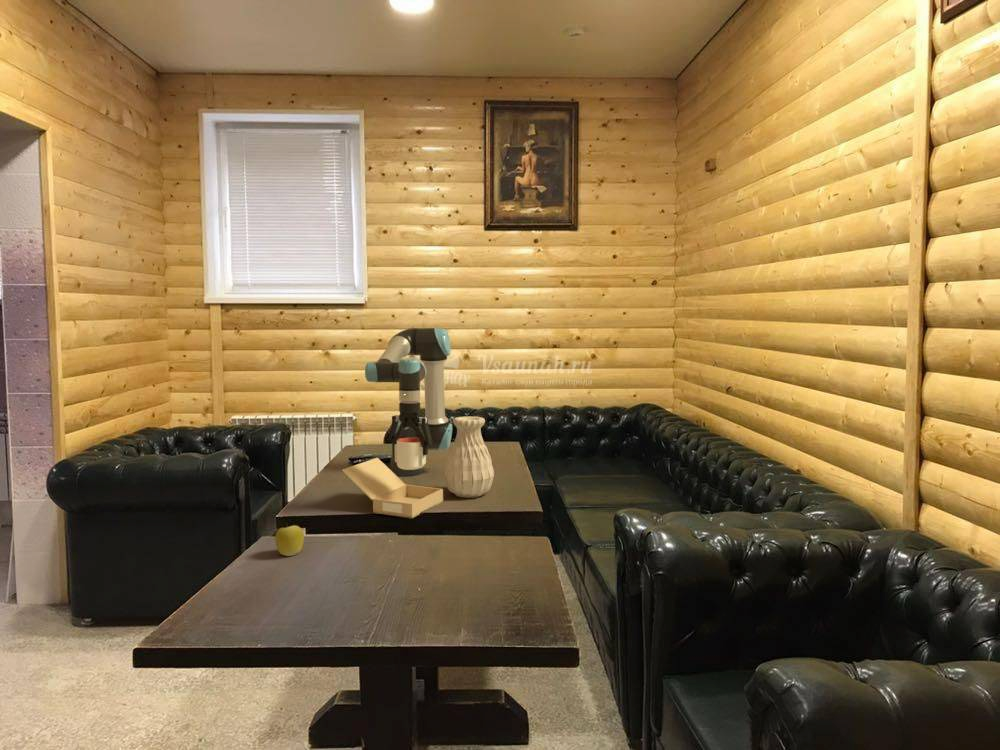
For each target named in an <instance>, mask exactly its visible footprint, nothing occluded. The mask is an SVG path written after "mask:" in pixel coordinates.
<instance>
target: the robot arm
mask: <svg viewBox="0 0 1000 750" xmlns="http://www.w3.org/2000/svg"><path fill="white" fill-rule="evenodd" d="M451 348H452V347H451V340H450V336H449V333H448V331H447V330H446V329H445V328H439V327H420V328H415V327H414V328H413V327H412V328H411V327H410V328H406V329H404V330H401V331H400V332H398V333H396V334H395V335H393V336H392V337H391V338H390V339H389V340H388V343H387V348H385V350H384V351H383V353H382V354H381V356H380V357H379V358H378V360H377V361H372V362H371V361H368V362H367V363H366V365H365V367H364V369H365V370H364V375H365V377H364V378H365V380H366V381H367V382H368V383H398V399H399V400H398V401H400V402H399V404H398V407H399V408H398V409H399V411H398V412H399V415H397V414H396V415H392V416H391V426H390V428H389V429H390V430H389V435H388V438H387V441H388V442H389V443H391V458H390V461H389V464H388V466H387V467H388V468H389V469H390V470H391V471H392V472H393V473H394V474H395V475H396V476H397V477H413V476H416V475H421V474H423V467H422V468H420V469H414V470H405V469H401V468H399V467H398V466H397V440H398V439H402V438H419V440H420V442H421V444H422V446H421V447H420V465H423V464H424V465H425V464H427V455H428V454H429V451H443V450H444V451H446V450H447V449H449V448H450V447H451V446H450V445H451V440H452V434H453V424H452V423H450V421H449V418H448V417H447V416H446V406H445V404H446V403H445V401H446V399H445V366H444V365H445V364H444V363H445V362H446V361H447V360H448V357H449V356H450V355H451V353H452V351H451ZM407 356H419V359H417V358H405V357H407ZM423 380H424V381H423ZM422 381H423V383H424V407H425V408H424V409H425V410H424V412H425V413H424V414H425V417H422V416H421V403H420V401H421V382H422Z"/></svg>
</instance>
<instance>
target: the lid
mask: <svg viewBox="0 0 1000 750" xmlns="http://www.w3.org/2000/svg"><path fill="white" fill-rule="evenodd" d="M388 467H389V466H387V465H386V464H385V463H384V462H383V461H381V460H380V459H379V458H378V457H376V458H372V459H369V460H366V461H363V462H361V463H360V462H359V463H358V464H355V465H352V466H349V467H345V468H343V469H342V470H341V472H343V473H344V474H345V475H346V477H348V478H349V479H350V480H351V481H352V482H353V484H355V485H356V486H357V487H358V489H360V490H361V491H362V492H363V493H364V494H365V495H366V496H367V497H368V498H369V499H370V500H371V501H373V499H374V498H376V497H379V496H381V495H383V494H386V493H388V492H390V491H393V490H395V489H397V488H400V487H402V486H404V485H407V484H406V483H404V481H403V480H402V479H400V478H399V476H396V475H395V474H394V473H393V472H392V471H391V470H390V469H389V468H388Z"/></svg>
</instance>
